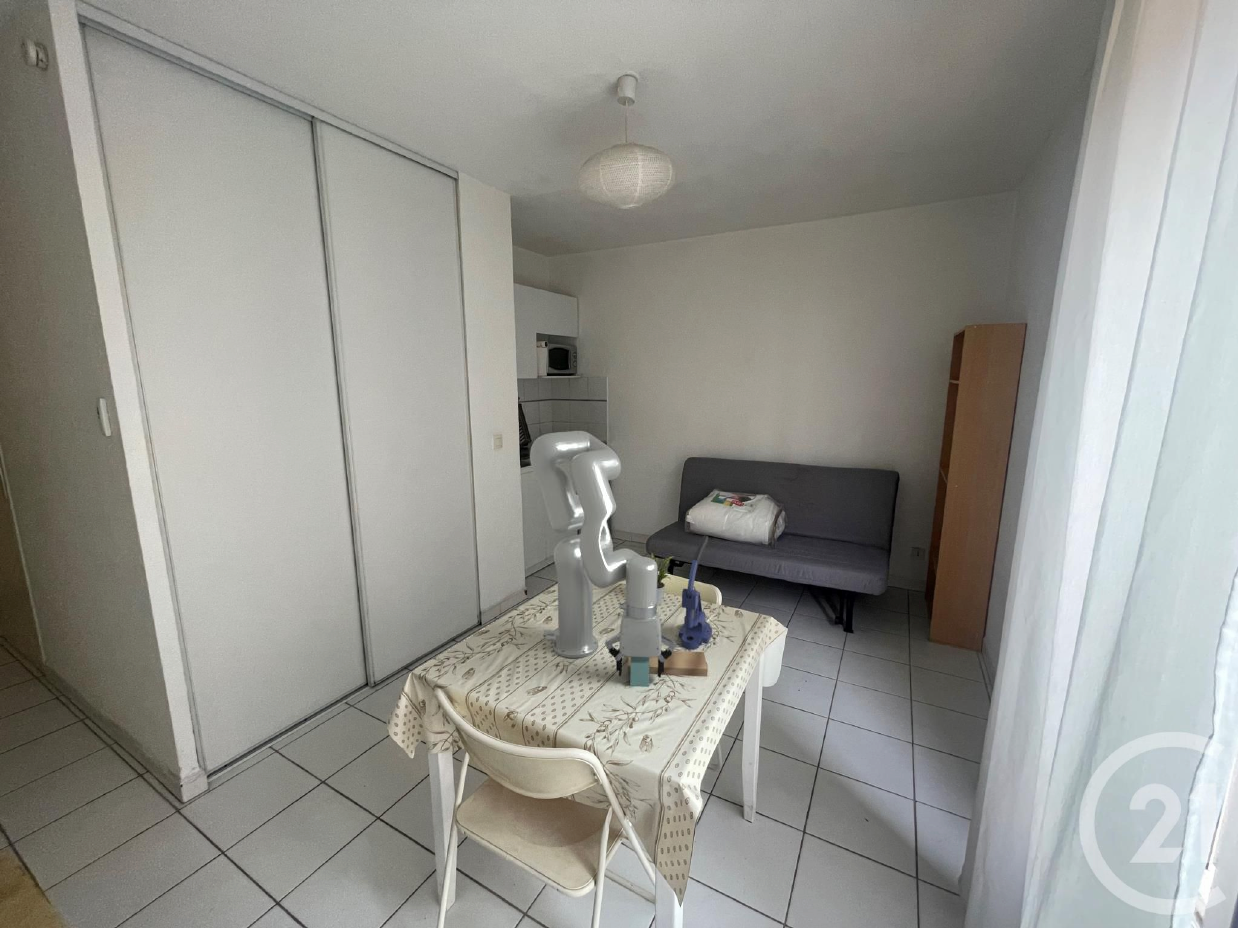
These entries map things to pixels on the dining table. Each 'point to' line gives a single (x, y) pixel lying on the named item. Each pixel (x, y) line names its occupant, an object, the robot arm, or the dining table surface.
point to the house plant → (661, 576)
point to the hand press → (694, 610)
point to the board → (679, 664)
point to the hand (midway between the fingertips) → (639, 673)
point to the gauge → (639, 671)
